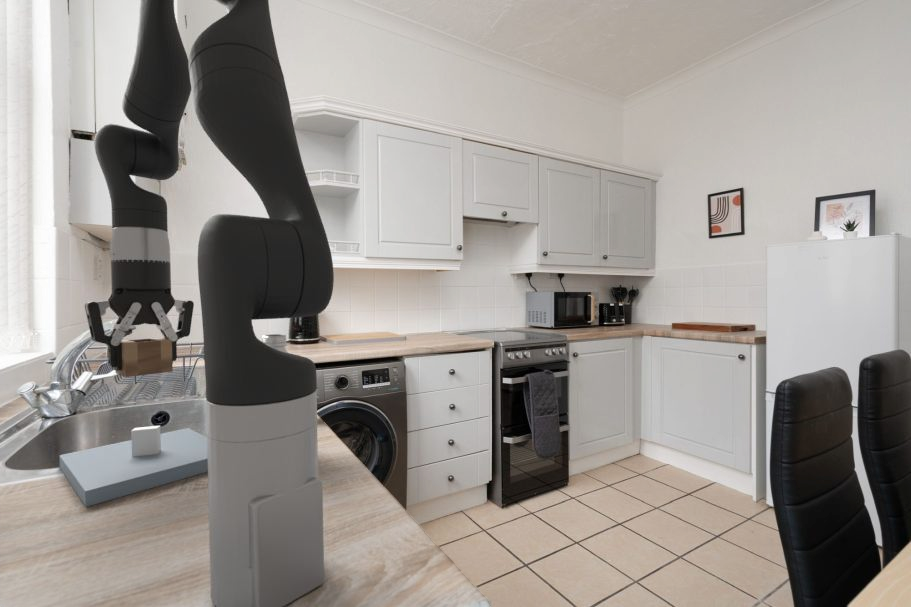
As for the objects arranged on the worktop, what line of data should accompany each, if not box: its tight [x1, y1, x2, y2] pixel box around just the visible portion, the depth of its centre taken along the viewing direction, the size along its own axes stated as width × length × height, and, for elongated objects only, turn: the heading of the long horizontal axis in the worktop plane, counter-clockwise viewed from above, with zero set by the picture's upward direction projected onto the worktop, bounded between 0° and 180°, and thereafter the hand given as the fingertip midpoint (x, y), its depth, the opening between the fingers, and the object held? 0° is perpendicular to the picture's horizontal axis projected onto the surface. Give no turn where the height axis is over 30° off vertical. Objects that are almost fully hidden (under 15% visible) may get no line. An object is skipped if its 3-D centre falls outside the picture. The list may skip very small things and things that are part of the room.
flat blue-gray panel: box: [59, 425, 208, 508], centre depth 68 cm, size 20×18×6 cm
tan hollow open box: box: [115, 337, 174, 378], centre depth 68 cm, size 6×6×5 cm
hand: (144, 366), depth 68 cm, fingers closed on tan hollow open box, 6 cm apart
